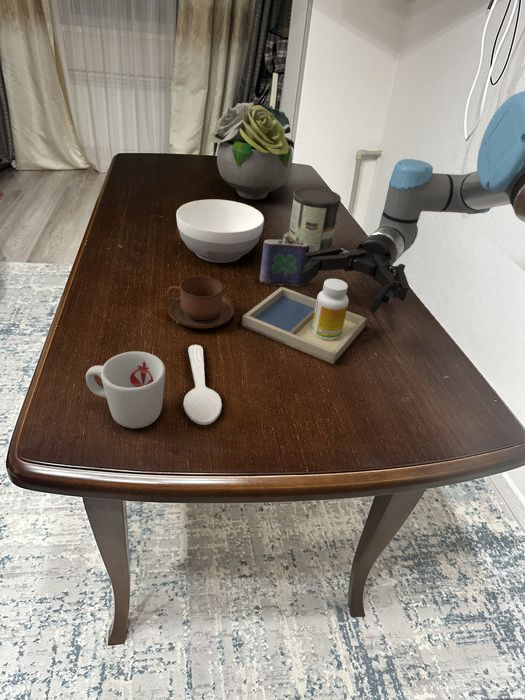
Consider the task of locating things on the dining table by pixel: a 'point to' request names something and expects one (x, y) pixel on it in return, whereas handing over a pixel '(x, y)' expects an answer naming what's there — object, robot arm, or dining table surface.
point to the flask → (283, 261)
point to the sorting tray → (299, 324)
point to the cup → (131, 387)
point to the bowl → (219, 229)
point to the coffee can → (314, 217)
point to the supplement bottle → (330, 310)
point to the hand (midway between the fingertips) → (336, 292)
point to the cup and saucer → (200, 303)
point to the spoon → (201, 392)
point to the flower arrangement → (253, 149)
